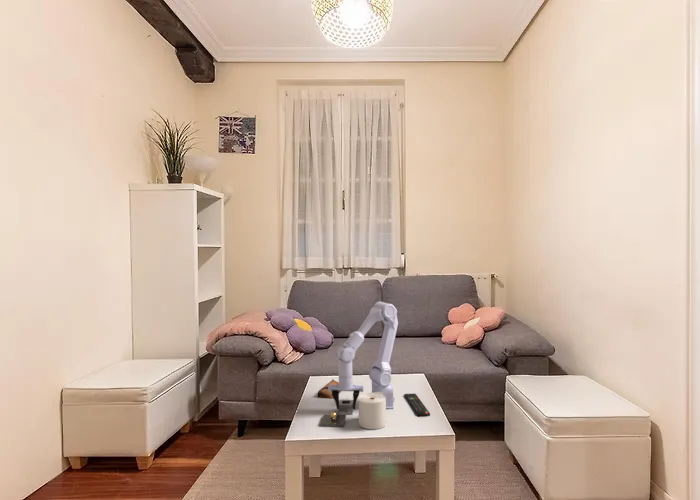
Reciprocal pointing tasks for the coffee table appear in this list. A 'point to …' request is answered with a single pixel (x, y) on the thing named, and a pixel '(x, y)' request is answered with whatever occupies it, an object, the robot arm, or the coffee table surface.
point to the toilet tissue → (372, 410)
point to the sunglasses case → (324, 391)
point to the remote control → (417, 405)
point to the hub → (333, 420)
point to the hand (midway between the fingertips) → (346, 408)
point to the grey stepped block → (346, 407)
